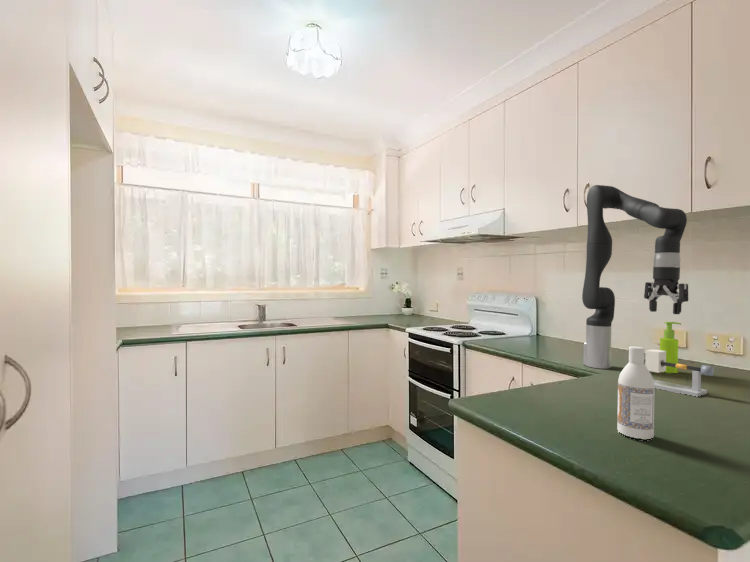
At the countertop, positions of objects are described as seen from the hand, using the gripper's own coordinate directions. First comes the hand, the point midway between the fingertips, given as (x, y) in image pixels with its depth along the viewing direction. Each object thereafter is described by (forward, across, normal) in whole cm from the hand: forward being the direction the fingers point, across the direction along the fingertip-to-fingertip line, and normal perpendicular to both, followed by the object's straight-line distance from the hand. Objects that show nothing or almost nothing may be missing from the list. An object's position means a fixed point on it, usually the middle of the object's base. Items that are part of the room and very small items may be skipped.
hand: (664, 312), depth 139 cm
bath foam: (+24, +38, -52) cm, 68 cm away
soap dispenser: (+26, -15, +22) cm, 37 cm away
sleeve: (+20, +2, -5) cm, 20 cm away
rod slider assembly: (+25, +6, -3) cm, 26 cm away
